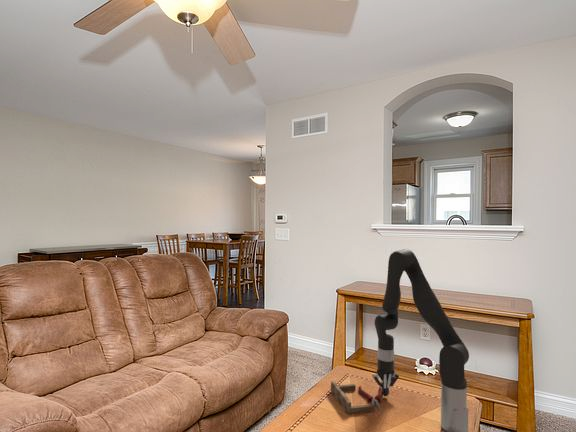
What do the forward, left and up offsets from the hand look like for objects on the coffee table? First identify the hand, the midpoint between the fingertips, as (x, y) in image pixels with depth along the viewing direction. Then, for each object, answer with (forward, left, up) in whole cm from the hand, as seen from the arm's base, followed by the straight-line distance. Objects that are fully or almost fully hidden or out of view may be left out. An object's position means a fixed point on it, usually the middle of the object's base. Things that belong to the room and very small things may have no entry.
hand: (385, 395), depth 165 cm
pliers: (+1, +8, -2) cm, 8 cm away
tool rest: (0, +16, -1) cm, 16 cm away
